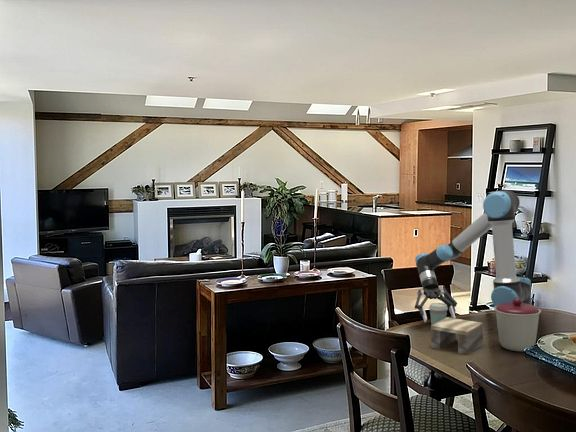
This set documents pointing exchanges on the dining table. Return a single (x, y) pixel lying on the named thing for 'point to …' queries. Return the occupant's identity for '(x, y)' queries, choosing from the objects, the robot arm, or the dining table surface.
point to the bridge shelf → (466, 330)
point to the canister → (517, 324)
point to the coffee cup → (437, 312)
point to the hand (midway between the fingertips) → (440, 320)
